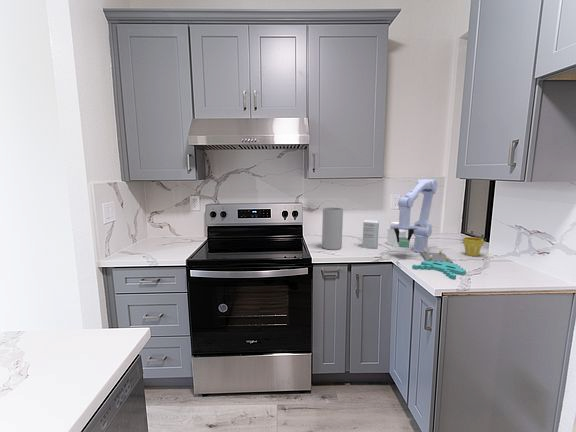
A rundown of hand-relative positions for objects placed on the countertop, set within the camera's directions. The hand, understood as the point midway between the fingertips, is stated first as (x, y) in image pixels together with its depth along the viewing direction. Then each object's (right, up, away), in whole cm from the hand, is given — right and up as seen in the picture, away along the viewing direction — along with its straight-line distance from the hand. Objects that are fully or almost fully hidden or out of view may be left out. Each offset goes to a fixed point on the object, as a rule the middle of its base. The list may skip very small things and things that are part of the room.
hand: (403, 242), depth 174 cm
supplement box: (-12, -5, +24) cm, 28 cm away
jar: (+6, -5, +29) cm, 30 cm away
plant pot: (+43, -8, +7) cm, 45 cm away
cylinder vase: (-38, -6, +21) cm, 43 cm away
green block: (0, -2, 0) cm, 2 cm away
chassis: (+18, -9, -2) cm, 20 cm away
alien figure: (+11, -13, -21) cm, 27 cm away
